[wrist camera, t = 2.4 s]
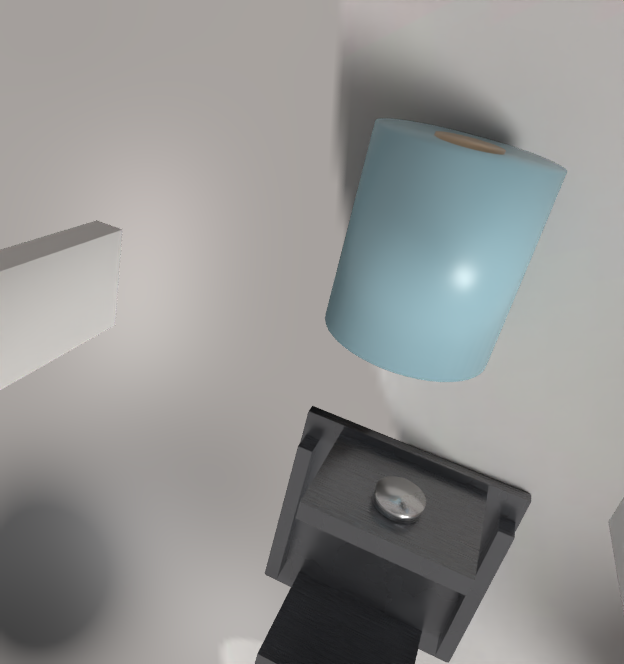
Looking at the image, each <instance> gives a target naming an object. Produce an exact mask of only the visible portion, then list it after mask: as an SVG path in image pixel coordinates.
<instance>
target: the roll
mask: <svg viewBox="0 0 624 664" xmlns="http://www.w3.org/2000/svg"><path fill="white" fill-rule="evenodd" d="M566 173H567V170H566V169H565V168H564V167H562V166H561V165H559V164H557V163H555V162H553V161H550V160H548V159H546V158H543V157H541V156H538V155H536V154H533V153H530V152H528V151H525V150H522V149H519V148H516V147H513V146H510V145H507V144H503V143H500V142H497V141H494V140H490V139H486V138H483V137H479V136H476V135H472V134H468V133H464V132H461V131H456V130H452V129H448V128H444V127H439V126H435V125H430V124H425V123H420V122H414V121H408V120H401V119H392V118H379V119H376V120H375V124H374V127H373V131H372V135H371V139H370V143H369V147H368V151H367V155H366V159H365V163H364V167H363V170H362V174H361V178H360V182H359V186H358V190H357V194H356V198H355V202H354V206H353V209H352V213H351V217H350V221H349V225H348V229H347V233H346V237H345V241H344V245H343V249H342V252H341V256H340V260H339V264H338V268H337V272H336V276H335V280H334V284H333V288H332V291H331V295H330V299H329V303H328V307H327V311H326V316H325V321H326V325H327V327H328V330H329V331H330V333H331V334H332V335H333V337H334V338H335V339H336V340H337V341H338V342H339V343H340V344H342V345H343V346H344V347H345V348H346V349H348V350H349V351H350V352H352V353H353V354H355V355H357V356H358V357H360V358H362V359H364V360H366V361H367V362H369V363H371V364H373V365H376V366H378V367H380V368H383V369H385V370H388V371H391V372H393V373H397V374H400V375H403V376H407V377H411V378H416V379H421V380H427V381H436V382H456V381H463V380H468V379H471V378H474V377H476V376H477V375H479V374H481V373H482V372H483V371H484V369H485V367H486V365H487V363H488V360H489V358H490V355H491V353H492V351H493V348H494V346H495V343H496V341H497V339H498V336H499V334H500V331H501V329H502V327H503V324H504V322H505V320H506V317H507V315H508V312H509V310H510V308H511V305H512V303H513V300H514V298H515V296H516V293H517V291H518V288H519V286H520V284H521V281H522V279H523V276H524V274H525V272H526V269H527V267H528V264H529V262H530V260H531V257H532V255H533V252H534V250H535V248H536V245H537V243H538V240H539V238H540V236H541V233H542V231H543V228H544V226H545V224H546V221H547V219H548V216H549V214H550V212H551V209H552V207H553V204H554V202H555V200H556V197H557V195H558V192H559V190H560V188H561V185H562V183H563V180H564V178H565V176H566Z"/></svg>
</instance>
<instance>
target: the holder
mask: <svg viewBox="0 0 624 664" xmlns="http://www.w3.org/2000/svg"><path fill="white" fill-rule="evenodd" d="M530 503H531V494H529V493H526V492H524V491H521V490H519V489H516V488H514V487H512V486H509V485H507V484H504V483H502V482H499V481H497V480H494V479H492V478H489V477H487V476H484V475H482V474H479V473H477V472H474V471H472V470H470V469H467V468H465V467H462V466H460V465H457V464H455V463H452V462H450V461H447V460H445V459H442V458H440V457H437V456H435V455H433V454H430V453H428V452H425V451H423V450H420V449H418V448H415V447H413V446H410V445H408V444H405V443H403V442H400V441H398V440H396V439H393V438H391V437H388V436H386V435H383V434H381V433H378V432H376V431H373V430H371V429H368V428H366V427H363V426H361V425H358V424H356V423H353V422H351V421H349V420H346V419H343V418H341V417H339V416H336V415H334V414H331V413H329V412H326V411H324V410H321V409H319V408H317V407H314V406H312V407H311V409H310V410H309V412H308V416H307V420H306V423H305V427H304V431H303V435H302V438H301V442H300V444H299V446H298V449H297V453H296V457H295V460H294V464H293V468H292V472H291V476H290V479H289V483H288V487H287V491H286V495H285V498H284V502H283V507H282V510H281V514H280V518H279V521H278V525H277V529H276V533H275V537H274V540H273V545H272V548H271V552H270V556H269V560H268V563H267V567H266V571H265V574H266V575H267V576H270V577H272V578H274V579H276V580H278V581H280V582H282V583H284V584H286V585H288V586H290V587H291V589H290V591H289V593H288V595H287V597H286V599H285V601H284V603H283V605H282V607H281V609H280V610H279V612H278V614H277V616H276V618H275V620H274V622H273V624H272V626H271V628H270V630H269V632H268V634H267V636H266V638H265V640H264V642H263V644H262V646H261V648H260V650H259V652H258V654H257V657H256V661H255V664H415V660H416V656H417V651H418V649H420V650H422V651H424V652H426V653H428V654H430V655H433V656H435V657H437V658H439V659H441V660H443V661H445V662H448V663H449V661H450V659H451V657H452V655H453V654H454V652H455V650H456V648H457V646H458V644H459V642H460V640H461V638H462V636H463V635H464V633H465V631H466V629H467V627H468V625H469V623H470V621H471V619H472V618H473V616H474V614H475V612H476V610H477V608H478V606H479V604H480V602H481V600H482V599H483V597H484V595H485V593H486V591H487V589H488V587H489V585H490V583H491V581H492V580H493V578H494V576H495V574H496V572H497V570H498V568H499V566H500V564H501V563H502V561H503V559H504V557H505V555H506V553H507V551H508V549H509V547H510V545H511V544H512V542H513V540H514V537H515V531H516V529H517V527H518V526H519V524H520V522H521V520H522V518H523V516H524V514H525V512H526V510H527V508H528V507H529V505H530Z"/></svg>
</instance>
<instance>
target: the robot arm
mask: <svg viewBox="0 0 624 664" xmlns="http://www.w3.org/2000/svg"><path fill="white" fill-rule="evenodd" d="M121 241H122V229H119V228H116V227H113V226H111V225H108V224H105V223H102V222H99V221H94V222H91V223H87V224H84V225H81V226H77V227H74V228H71V229H68V230H64V231H61V232H57V233H54V234H51V235H47V236H44V237H41V238H38V239H34V240H31V241H28V242H24V243H21V244H18V245H14V246H11V247H8V248H4V249H1V250H0V390H1V389H3V388H5V387H6V386H8V385H10V384H12V383H14V382H15V381H17V380H19V379H21V378H23V377H24V376H26V375H28V374H30V373H31V372H33V371H35V370H37V369H38V368H40V367H42V366H44V365H46V364H47V363H49V362H51V361H52V360H54V359H56V358H58V357H60V356H62V355H63V354H65V353H67V352H69V351H70V350H72V349H74V348H76V347H78V346H79V345H81V344H83V343H85V342H86V341H88V340H90V339H92V338H94V337H95V336H97V335H99V334H101V333H102V332H104V331H106V330H108V329H109V328H111V327H113V326H115V319H116V307H117V293H118V280H119V268H120V255H121ZM609 527H610V533H611V540H612V546H613V552H614V558H615V564H616V570H617V576H618V583H619V589H620V595H621V601H622V607H623V613H624V498H623V499H622V501H621V502H620V504H619V506H618V507H617V509H616V511H615V512H614V514H613V515H612V517H611V519H610V520H609Z"/></svg>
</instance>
